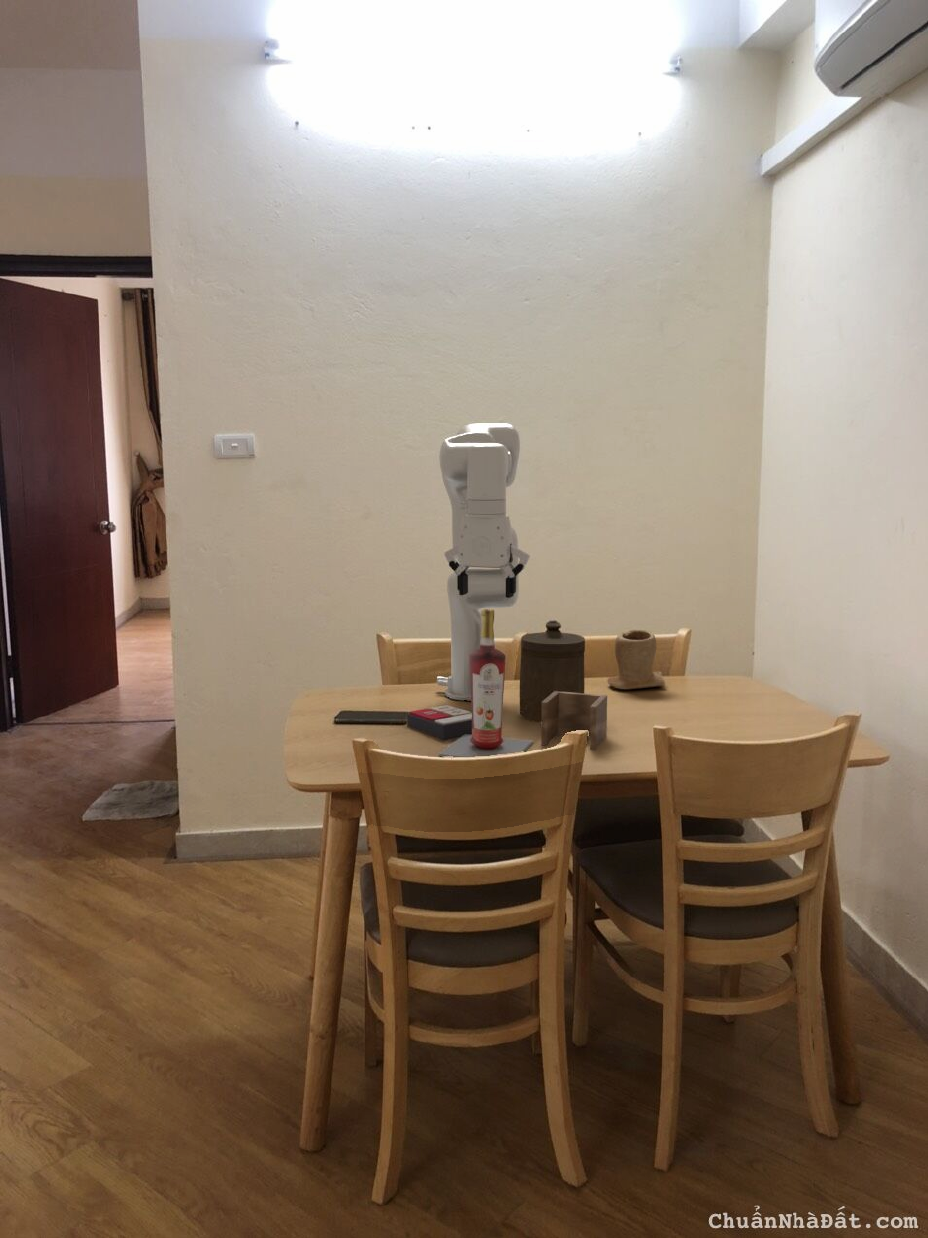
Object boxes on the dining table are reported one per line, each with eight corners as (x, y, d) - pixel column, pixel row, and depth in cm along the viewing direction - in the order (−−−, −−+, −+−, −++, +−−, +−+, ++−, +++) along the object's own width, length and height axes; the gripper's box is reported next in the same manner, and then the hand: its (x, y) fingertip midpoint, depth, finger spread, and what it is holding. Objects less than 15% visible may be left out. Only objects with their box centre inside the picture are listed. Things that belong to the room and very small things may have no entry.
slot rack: (541, 744, 199) (541, 702, 197) (554, 731, 208) (554, 690, 207) (595, 750, 195) (596, 706, 193) (606, 736, 204) (607, 695, 203)
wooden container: (588, 709, 227) (589, 617, 223) (578, 725, 213) (580, 627, 209) (526, 705, 231) (527, 614, 227) (513, 721, 217) (513, 624, 213)
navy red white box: (447, 703, 219) (485, 714, 207) (447, 721, 220) (486, 733, 208) (405, 710, 213) (442, 721, 201) (406, 729, 214) (443, 742, 202)
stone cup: (620, 695, 240) (621, 636, 238) (602, 684, 251) (603, 628, 249) (676, 691, 244) (678, 633, 241) (655, 681, 255) (657, 625, 253)
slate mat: (438, 756, 191) (438, 753, 191) (465, 736, 205) (465, 733, 204) (510, 764, 185) (510, 761, 185) (532, 743, 199) (532, 740, 199)
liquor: (471, 752, 191) (472, 613, 187) (466, 742, 198) (466, 607, 194) (507, 751, 192) (509, 612, 188) (501, 740, 199) (502, 607, 195)
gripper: (438, 509, 187) (438, 596, 190) (523, 511, 181) (522, 600, 184) (452, 506, 194) (452, 590, 197) (534, 508, 188) (533, 595, 191)
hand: (486, 595), depth 190 cm, fingers open, 9 cm apart
